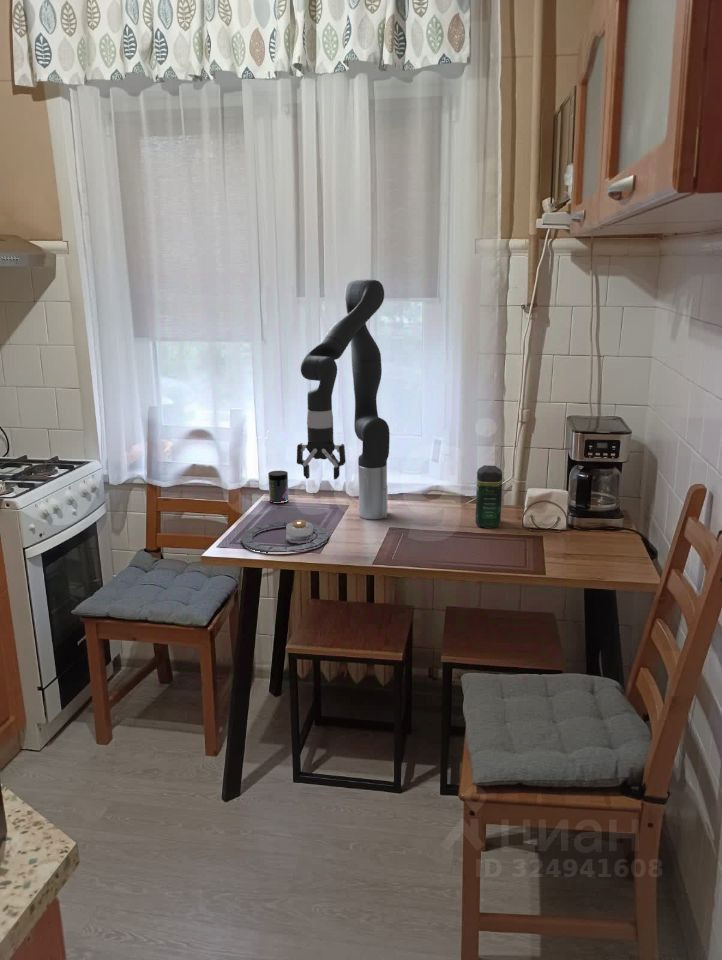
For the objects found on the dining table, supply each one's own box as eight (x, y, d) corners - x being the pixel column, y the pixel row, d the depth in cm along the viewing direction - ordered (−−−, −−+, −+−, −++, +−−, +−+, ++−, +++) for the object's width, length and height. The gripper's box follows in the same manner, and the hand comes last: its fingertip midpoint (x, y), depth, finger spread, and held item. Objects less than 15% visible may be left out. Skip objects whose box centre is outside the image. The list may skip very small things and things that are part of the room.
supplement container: (281, 505, 272) (280, 476, 269) (265, 503, 275) (264, 474, 272) (292, 500, 278) (291, 471, 275) (276, 497, 281) (275, 469, 278)
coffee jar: (501, 529, 245) (503, 471, 240) (475, 528, 246) (477, 471, 241) (500, 519, 254) (502, 463, 249) (475, 518, 255) (476, 463, 250)
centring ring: (332, 525, 250) (332, 522, 250) (321, 555, 226) (321, 551, 225) (252, 524, 253) (252, 521, 252) (232, 553, 228) (232, 550, 227)
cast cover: (314, 535, 242) (314, 517, 241) (311, 544, 235) (310, 526, 233) (289, 535, 243) (288, 517, 241) (284, 544, 235) (283, 526, 234)
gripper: (346, 422, 233) (347, 475, 237) (299, 421, 235) (301, 474, 239) (341, 428, 225) (342, 482, 230) (293, 426, 228) (295, 481, 232)
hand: (321, 478), depth 234 cm, fingers open, 8 cm apart
